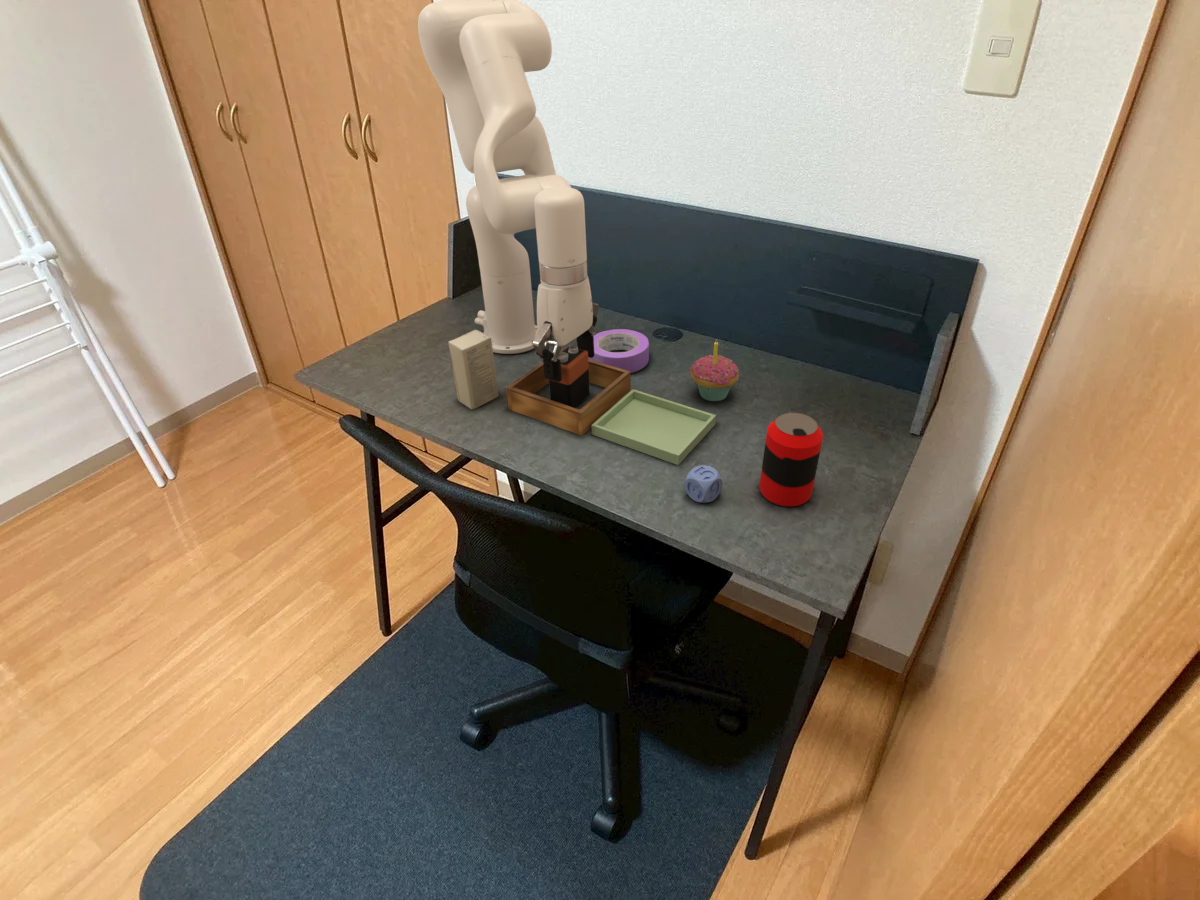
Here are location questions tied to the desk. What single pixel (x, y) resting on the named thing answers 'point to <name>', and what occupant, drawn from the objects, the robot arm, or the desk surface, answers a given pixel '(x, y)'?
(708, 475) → the decorative dice
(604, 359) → the tape roll
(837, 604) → the desk surface
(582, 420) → the wooden frame
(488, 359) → the cosmetic box
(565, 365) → the battery
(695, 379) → the cupcake
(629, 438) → the tray
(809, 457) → the soda can
